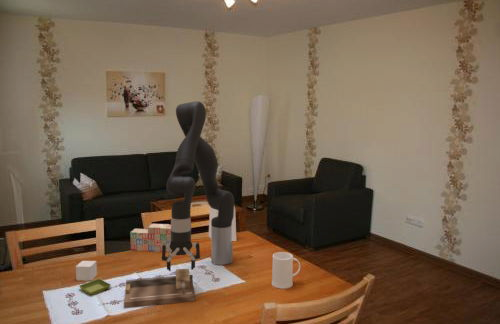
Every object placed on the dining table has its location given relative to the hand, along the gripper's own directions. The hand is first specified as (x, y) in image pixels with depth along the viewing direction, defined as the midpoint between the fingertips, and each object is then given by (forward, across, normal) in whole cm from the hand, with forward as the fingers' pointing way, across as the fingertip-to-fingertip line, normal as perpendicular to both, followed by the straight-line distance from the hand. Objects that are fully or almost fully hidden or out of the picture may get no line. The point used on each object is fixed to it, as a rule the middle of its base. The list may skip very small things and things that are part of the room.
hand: (180, 269), depth 152 cm
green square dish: (+10, +32, -8) cm, 35 cm away
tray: (+9, +8, +3) cm, 12 cm away
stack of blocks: (+9, +12, -48) cm, 50 cm away
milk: (+8, -24, -56) cm, 62 cm away
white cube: (+9, +38, -19) cm, 43 cm away
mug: (+8, -42, +1) cm, 43 cm away
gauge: (+7, -1, +3) cm, 7 cm away
